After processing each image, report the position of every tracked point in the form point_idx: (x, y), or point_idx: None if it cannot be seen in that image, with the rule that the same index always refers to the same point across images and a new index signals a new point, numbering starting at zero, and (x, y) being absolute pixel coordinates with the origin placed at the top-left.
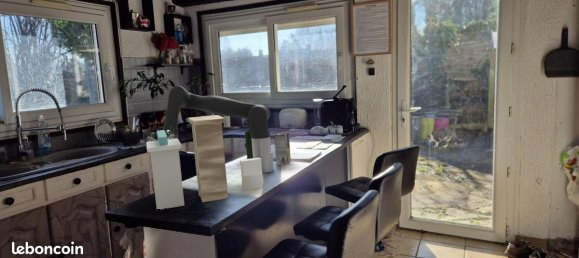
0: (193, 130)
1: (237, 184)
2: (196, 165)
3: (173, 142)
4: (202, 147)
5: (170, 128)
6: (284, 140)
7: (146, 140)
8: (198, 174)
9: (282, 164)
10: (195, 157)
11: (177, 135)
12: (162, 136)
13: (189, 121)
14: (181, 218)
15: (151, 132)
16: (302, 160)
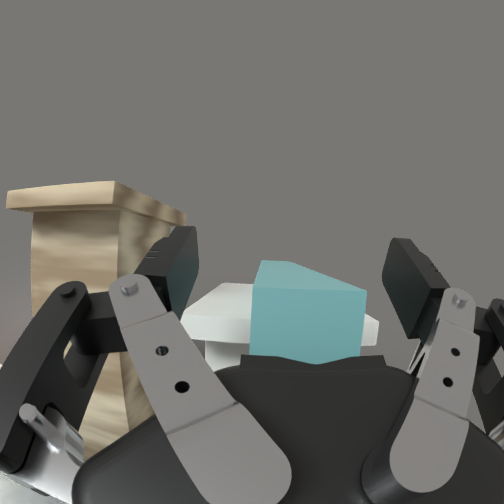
0: (139, 251)
1: (3, 475)
2: (137, 409)
3: (236, 292)
4: None
5: (196, 249)
6: None
7: (486, 416)
8: (154, 413)
9: None
10: (130, 384)
11: (79, 364)
12: (277, 261)
13: (143, 208)
14: None
15: (437, 311)
16: None
